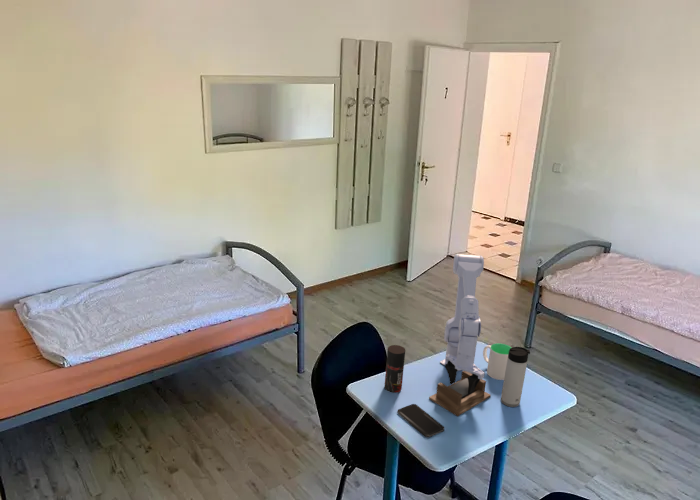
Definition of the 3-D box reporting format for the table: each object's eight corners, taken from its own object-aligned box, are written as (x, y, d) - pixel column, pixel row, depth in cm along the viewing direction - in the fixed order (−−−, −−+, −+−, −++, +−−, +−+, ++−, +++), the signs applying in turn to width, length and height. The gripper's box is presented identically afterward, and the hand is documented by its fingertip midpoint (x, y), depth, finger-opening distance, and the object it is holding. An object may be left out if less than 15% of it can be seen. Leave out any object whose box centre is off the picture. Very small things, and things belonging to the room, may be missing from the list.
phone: (427, 436, 166) (396, 410, 177) (426, 439, 166) (395, 413, 178) (446, 428, 170) (414, 402, 182) (445, 431, 170) (414, 405, 182)
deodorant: (395, 394, 187) (399, 355, 182) (381, 388, 190) (384, 349, 185) (404, 387, 191) (408, 349, 186) (390, 381, 195) (393, 343, 190)
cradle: (462, 381, 197) (464, 366, 195) (490, 396, 189) (492, 381, 187) (429, 399, 186) (430, 383, 184) (457, 416, 177) (459, 400, 175)
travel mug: (521, 409, 183) (531, 355, 176) (501, 405, 184) (509, 352, 178) (519, 398, 189) (529, 346, 182) (500, 395, 190) (508, 343, 183)
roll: (461, 387, 191) (464, 375, 189) (473, 395, 188) (476, 382, 186) (445, 396, 186) (447, 384, 184) (456, 404, 182) (459, 392, 180)
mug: (474, 366, 207) (477, 342, 203) (488, 361, 211) (492, 336, 208) (499, 382, 198) (503, 356, 194) (513, 376, 202) (518, 350, 199)
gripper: (441, 346, 184) (437, 382, 188) (477, 365, 174) (471, 402, 178) (454, 340, 188) (450, 375, 193) (490, 358, 178) (484, 394, 183)
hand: (461, 387), depth 186 cm, fingers open, 7 cm apart
